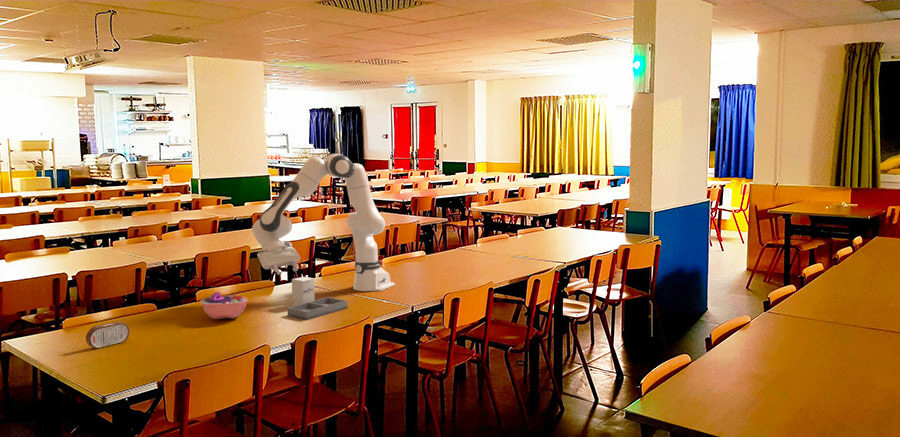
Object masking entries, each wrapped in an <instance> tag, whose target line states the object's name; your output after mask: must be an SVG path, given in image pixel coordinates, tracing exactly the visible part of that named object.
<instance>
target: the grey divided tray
mask: <svg viewBox="0 0 900 437" xmlns="http://www.w3.org/2000/svg"><path fill="white" fill-rule="evenodd" d="M347 309H348V300H345V299H339V298H335V297H331V296H327V297H323V298H319V299H315V301H311V302H308V303H304V304H300V305H296V306H289V307H287V317H292V318H296V319H300V320H305V321H308V320H311V319H316V318H319V317H322V316H325V315H326V316H327V315H329V314H334V313H336V312H339V311H342V310H347Z"/></svg>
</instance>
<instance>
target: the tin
mask: <svg viewBox="0 0 900 437" xmlns="http://www.w3.org/2000/svg"><path fill="white" fill-rule="evenodd" d="M129 336H130V327H129V326H128V325H127V324H126V323H124V322H123V321H113V322H108V323H102V324H97V325H94V326H93V327H91V328H90V329H89V330H88V331H87V333H86V336H85V341H86V343H87V346H89V347H90V348H93V349H97V348H99V349H103V348H102V347H104V348H107V347H106V346H108V347H111V346H110V345H112V346H114V345H113V344H117V345H119V344H118V343H121V344H123V343H124V342H125V341H126V340H127V339H128V338H129ZM122 342H123V343H122Z"/></svg>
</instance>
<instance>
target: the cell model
mask: <svg viewBox="0 0 900 437" xmlns="http://www.w3.org/2000/svg"><path fill="white" fill-rule="evenodd" d="M248 301H249V299H248V298H247V297H245V296H243V295H238V294H230V295H229V294H228V295H226V294H225V295H221V293H220V292H219V291H216V292H213V293H212V294H211V295H210V296H207V297H205V298H203V299H201V300H200V304H201V307H202V309H203V311H204V312H205V313H206V314H207V316H209V317H210V318H211V319H213V320H224V319H235V318H237V317H239V316H240V315H241V314H242V313H244V311H245V309H246V306H247V305H248V304H247V303H248Z"/></svg>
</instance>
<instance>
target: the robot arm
mask: <svg viewBox="0 0 900 437" xmlns="http://www.w3.org/2000/svg"><path fill="white" fill-rule="evenodd" d="M327 175H330V176H332V177H334V178H336V177H337V178H343V179H344V181H345V185H346V190H347V195H348V199H349V203H350V205H351V206H352V207H353V209H354V210H355V211H353V212H350V214H349V215H348V216H347V220H346V225H347V227H348V228H349V229H350V232H351V235H352V238H353V242H354V248H355V251H354V252H355V261H354V269H355V271H354V272H355V273H354V282H353V286H352V287H353V290H355V291H358V292H375V291H376V292H380V291H384V290H386V289H389V288H391V287H393V286H395V285H396V284H395V282H393V281H391V276H390V273H388V271H386V270H385V269H383V267H381V265H384V263H385V261H384V260H381V259H380V260H379V255H378V244H377V242H376V241H375V238H374V236H376V235H380V234H381V233H383V232H384V230H385V229H386V221H385V219H384V217H383V216H382V215H381V213H380V212H379V210H378V208H377V207H376V204H375V202H374V199H373V195H372V191H371V187H370V183H369V178H368V174H367V172H366V170H365V167H364V166H363V164H360V163H357V162H356V163H355V162H354V163H353V162H352V161H351V160H350V158H349V157H348V156H347V155H343V154H340V153H329V154H327V155H325V156H323V157H319V156H311V157H310V158H309V159H308V160H306V162H305V163H304V165H302V167H301V168H300V170H299V171H298V172H297V174H296V176H295V177H294V178H293V180H292V181H291V182H289V183H288V184H287V185H285V187H284V188H283V190H282V191H281V192H280V193H279V194H278V196H277V197H276V199H274V201H273V203H272V204H271V205H270V206H269V207H268V208H267V209H265V210H264V211H263V212H262V213H261V214H260V216H259V219H257V220H256V221H255V222H253V224H252V226H251V231H252V234H253V236H254V238H255V240H256V242H257V243H258V244H259V245H260V247H261V250H262V251H258V252H257V254H256V255H257V258H258V259H259V262H260V265H261V267H262V268H263V269H264V270H272V271H273V272H275V273H276V274H277V276H279V275H281V274H283V272H282V270H281V269H279V268H281V267H286V266H292V267H293V268H292V270H293V272H297V271H299V267H297V264H298V263H299V262H300V261H301V255H300V254H299V253H298V251H297V249H295V248H294V246H293V244H292V242H287V241H282V240H280V239H282V238H283V237H285V236H286V235H288V234H290V232H291V230H292V228H293V223H292V222H293V221H292V220H291V219H290V218H289V217H287V216H285V215H283V213H284V212H285V210H286V209H287V208H288V206H289V205H290V204H291V203H292V201H293V200H295V199H296V198H300V197H308V196H312V195H313V194H314V192H315V191H316V190H317V189H318V187H319V184H321V181H322V180H323V179H324V177H325V176H327Z"/></svg>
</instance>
